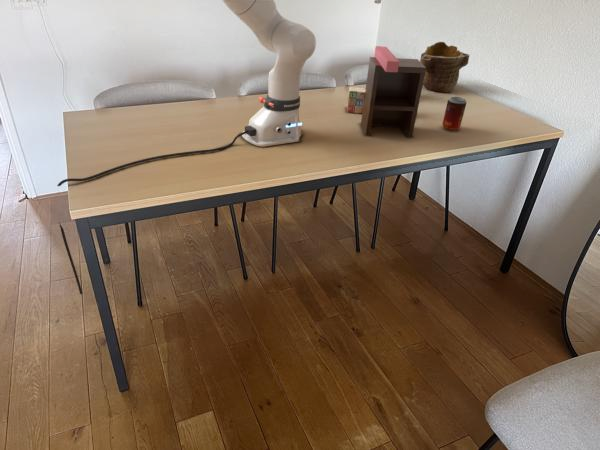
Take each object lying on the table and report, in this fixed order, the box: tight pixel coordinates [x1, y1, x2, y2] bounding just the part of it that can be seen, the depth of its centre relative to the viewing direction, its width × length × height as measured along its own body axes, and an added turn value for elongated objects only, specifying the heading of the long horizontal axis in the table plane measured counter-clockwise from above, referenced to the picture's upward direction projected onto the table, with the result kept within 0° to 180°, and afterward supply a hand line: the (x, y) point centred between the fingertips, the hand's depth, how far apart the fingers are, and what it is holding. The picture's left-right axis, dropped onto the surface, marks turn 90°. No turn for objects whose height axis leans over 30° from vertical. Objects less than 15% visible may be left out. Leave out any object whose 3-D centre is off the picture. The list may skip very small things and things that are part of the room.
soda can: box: [442, 96, 468, 132], centre depth 177 cm, size 7×7×12 cm
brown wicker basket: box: [419, 41, 470, 93], centre depth 220 cm, size 23×24×25 cm
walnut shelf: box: [360, 56, 426, 138], centre depth 168 cm, size 12×18×26 cm, turn 92°
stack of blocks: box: [346, 86, 366, 114], centre depth 189 cm, size 21×6×12 cm, turn 84°
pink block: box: [373, 45, 399, 72], centre depth 157 cm, size 22×4×4 cm, turn 2°
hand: (366, 1), depth 152 cm, fingers open, 8 cm apart
